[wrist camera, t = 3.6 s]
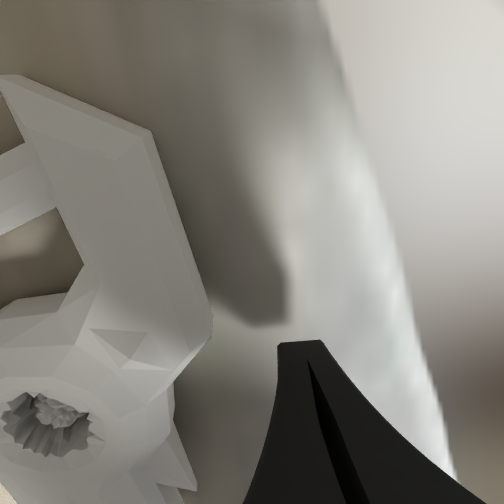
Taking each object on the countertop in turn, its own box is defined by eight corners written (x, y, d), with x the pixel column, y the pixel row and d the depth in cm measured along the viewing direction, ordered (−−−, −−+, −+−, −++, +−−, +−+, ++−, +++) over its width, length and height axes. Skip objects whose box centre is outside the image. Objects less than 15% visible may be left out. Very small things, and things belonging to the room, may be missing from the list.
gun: (284, 568, 15) (39, 613, 15) (276, 481, 18) (72, 521, 18) (88, 38, 7) (-391, 171, 8) (134, 48, 10) (-210, 141, 11)
